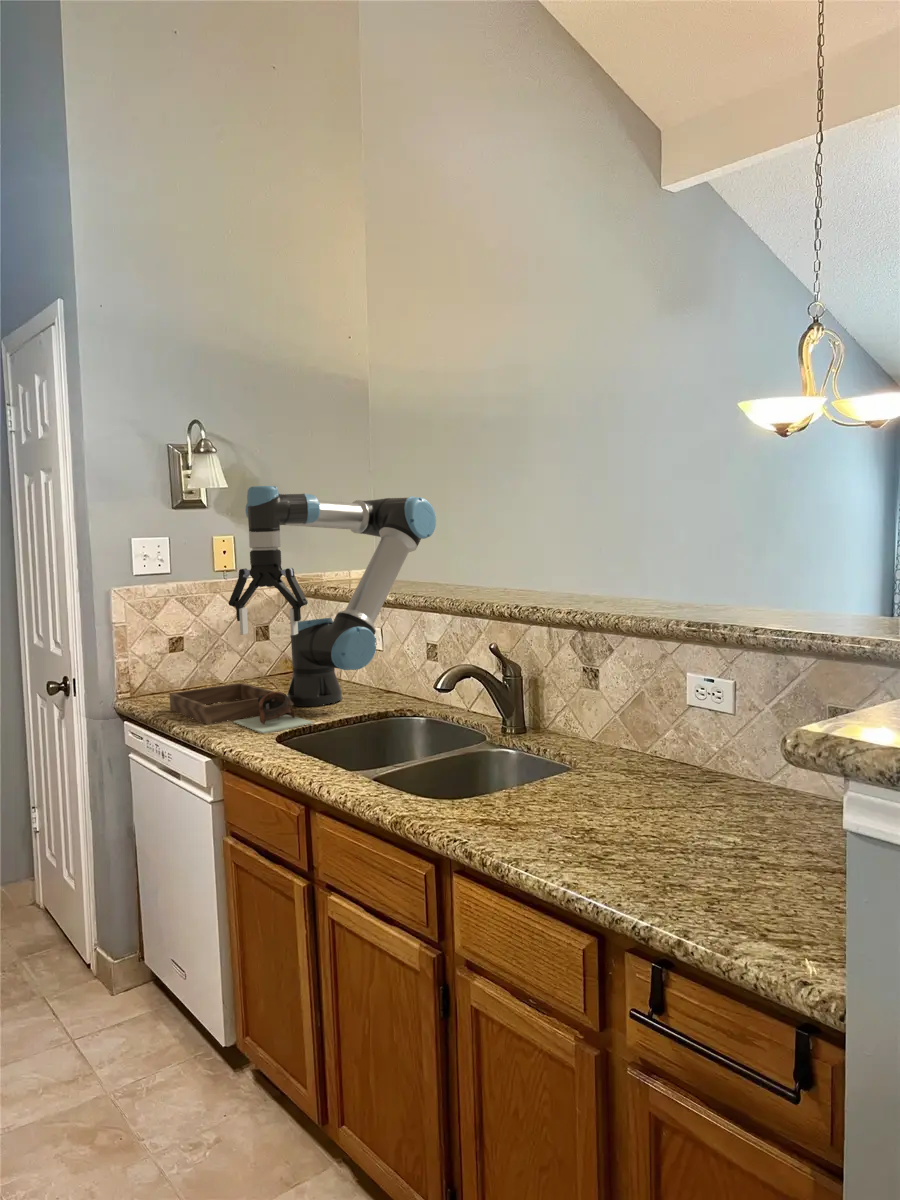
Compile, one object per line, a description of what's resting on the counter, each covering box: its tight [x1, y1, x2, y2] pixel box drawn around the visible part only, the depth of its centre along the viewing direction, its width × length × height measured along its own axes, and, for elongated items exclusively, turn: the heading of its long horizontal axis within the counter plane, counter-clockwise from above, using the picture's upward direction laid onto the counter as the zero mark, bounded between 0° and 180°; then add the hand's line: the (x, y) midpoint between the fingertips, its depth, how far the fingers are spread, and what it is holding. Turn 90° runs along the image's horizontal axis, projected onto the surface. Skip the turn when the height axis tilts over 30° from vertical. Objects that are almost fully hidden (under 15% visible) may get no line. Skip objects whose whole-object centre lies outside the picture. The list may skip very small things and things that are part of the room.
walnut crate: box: [169, 682, 275, 725], centre depth 242 cm, size 24×22×4 cm
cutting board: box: [233, 715, 315, 734], centre depth 226 cm, size 16×14×1 cm
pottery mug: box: [258, 691, 296, 724], centre depth 227 cm, size 12×10×8 cm
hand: (269, 634), depth 224 cm, fingers open, 13 cm apart
